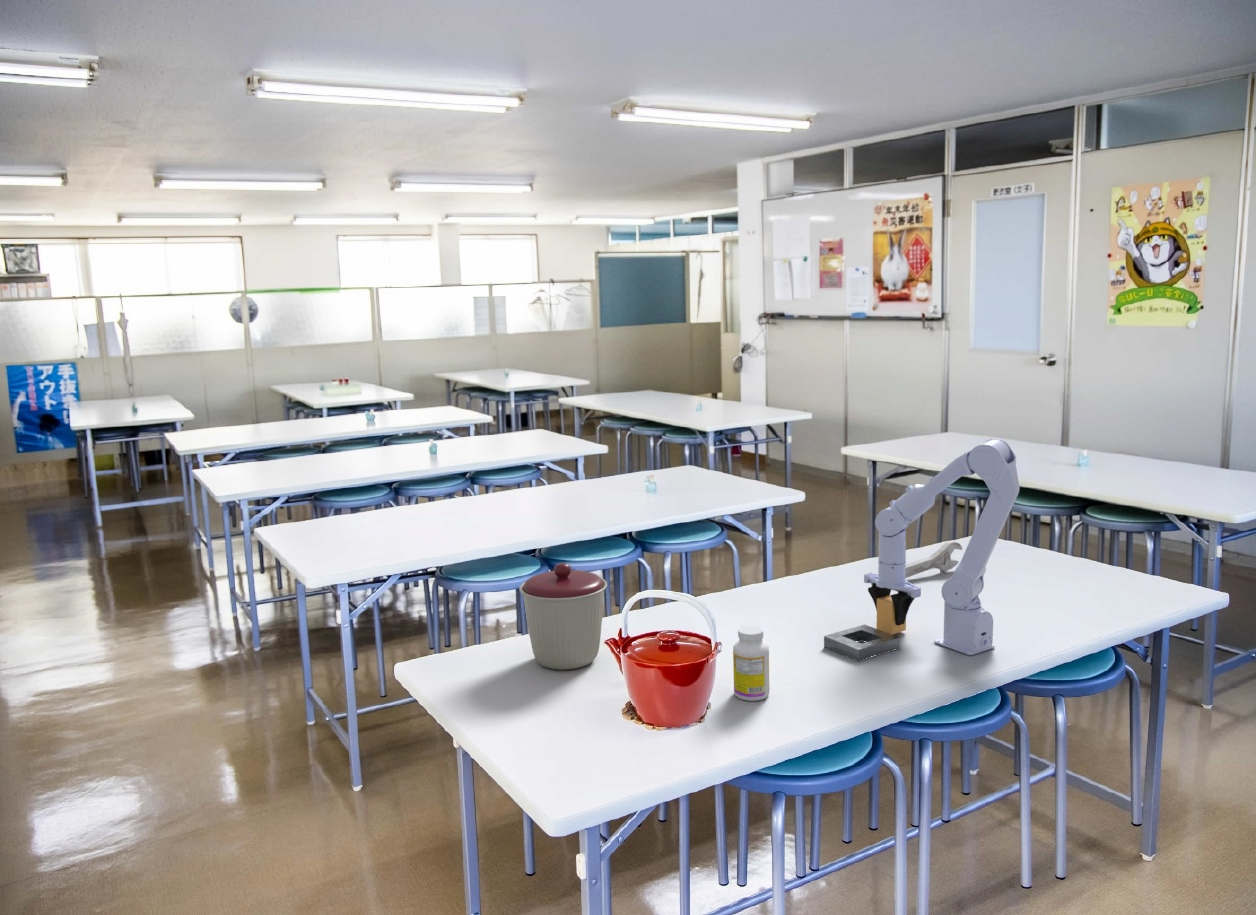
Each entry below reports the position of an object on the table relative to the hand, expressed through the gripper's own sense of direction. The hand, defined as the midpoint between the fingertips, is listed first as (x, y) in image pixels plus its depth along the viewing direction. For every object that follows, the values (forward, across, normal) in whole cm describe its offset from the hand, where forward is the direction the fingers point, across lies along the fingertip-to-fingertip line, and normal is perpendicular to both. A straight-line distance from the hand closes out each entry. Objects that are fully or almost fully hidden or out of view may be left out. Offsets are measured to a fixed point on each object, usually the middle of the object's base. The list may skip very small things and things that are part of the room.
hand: (891, 621), depth 210 cm
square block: (+2, 0, 0) cm, 2 cm away
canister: (+3, -28, -66) cm, 72 cm away
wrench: (+3, -24, +36) cm, 43 cm away
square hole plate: (+2, +3, -12) cm, 13 cm away
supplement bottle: (+3, +8, -46) cm, 47 cm away
